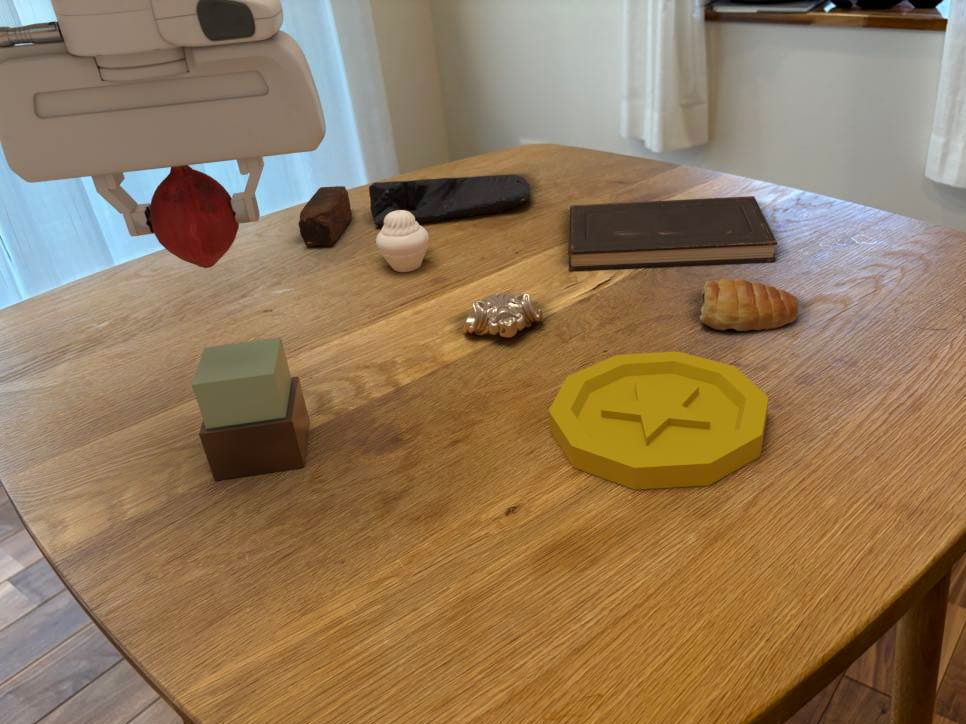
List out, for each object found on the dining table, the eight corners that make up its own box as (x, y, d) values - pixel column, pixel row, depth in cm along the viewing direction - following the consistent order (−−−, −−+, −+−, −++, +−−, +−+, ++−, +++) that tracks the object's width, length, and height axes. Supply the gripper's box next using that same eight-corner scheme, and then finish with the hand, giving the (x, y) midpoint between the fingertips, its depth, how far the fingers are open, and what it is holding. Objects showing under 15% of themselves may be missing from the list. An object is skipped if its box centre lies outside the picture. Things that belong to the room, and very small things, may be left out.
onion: (265, 262, 62) (237, 152, 58) (192, 290, 59) (157, 175, 55) (224, 246, 66) (195, 141, 62) (153, 271, 62) (117, 162, 58)
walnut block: (214, 481, 67) (198, 434, 65) (226, 432, 73) (212, 387, 71) (304, 467, 68) (292, 420, 66) (309, 420, 74) (298, 375, 72)
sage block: (206, 429, 66) (191, 384, 63) (217, 390, 71) (204, 347, 68) (285, 417, 66) (273, 373, 64) (291, 379, 71) (280, 336, 69)
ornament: (470, 354, 82) (466, 320, 80) (459, 323, 88) (455, 291, 86) (551, 340, 83) (549, 306, 81) (535, 311, 89) (533, 278, 87)
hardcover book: (775, 261, 95) (777, 242, 94) (568, 271, 97) (567, 252, 96) (752, 212, 109) (753, 194, 108) (571, 221, 111) (570, 203, 109)
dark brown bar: (325, 219, 118) (318, 186, 115) (353, 218, 117) (347, 184, 115) (303, 249, 109) (294, 214, 106) (333, 248, 108) (326, 212, 106)
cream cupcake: (419, 279, 98) (410, 220, 94) (371, 275, 100) (360, 218, 96) (441, 258, 103) (433, 201, 99) (395, 255, 105) (386, 199, 101)
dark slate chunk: (533, 218, 112) (530, 182, 110) (365, 231, 113) (359, 196, 110) (529, 181, 125) (527, 149, 123) (379, 193, 126) (374, 161, 123)
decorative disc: (511, 422, 72) (508, 402, 71) (666, 352, 80) (666, 332, 79) (647, 520, 60) (647, 498, 59) (812, 426, 68) (815, 405, 67)
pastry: (792, 303, 87) (796, 268, 84) (801, 335, 81) (805, 298, 79) (698, 304, 88) (699, 269, 86) (700, 335, 82) (701, 299, 80)
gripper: (-64, 38, 50) (28, 262, 57) (295, 4, 52) (339, 223, 59) (-22, 23, 55) (57, 229, 62) (302, -8, 57) (342, 195, 64)
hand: (197, 226), depth 61 cm, fingers closed on onion, 6 cm apart
